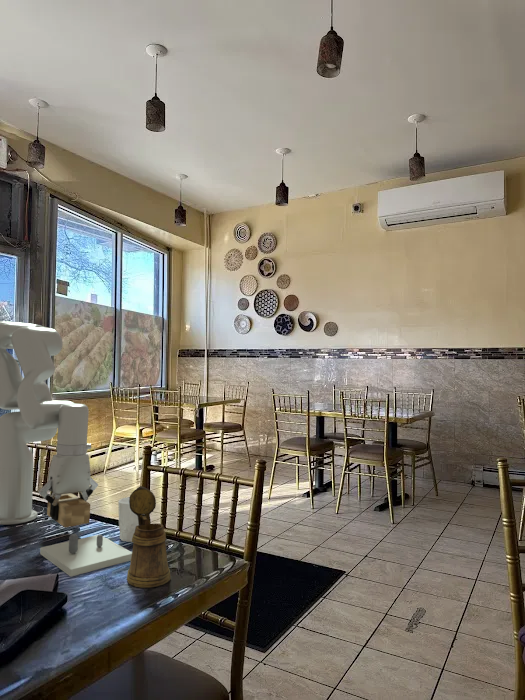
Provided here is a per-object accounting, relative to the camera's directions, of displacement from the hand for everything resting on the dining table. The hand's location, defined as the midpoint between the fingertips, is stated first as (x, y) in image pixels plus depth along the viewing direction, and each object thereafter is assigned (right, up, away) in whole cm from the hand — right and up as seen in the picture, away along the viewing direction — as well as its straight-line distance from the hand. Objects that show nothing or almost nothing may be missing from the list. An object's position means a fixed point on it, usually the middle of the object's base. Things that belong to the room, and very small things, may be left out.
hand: (67, 516), depth 135 cm
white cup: (+18, -6, -1) cm, 19 cm away
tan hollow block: (0, -1, 0) cm, 1 cm away
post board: (+10, -5, -15) cm, 19 cm away
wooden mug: (+27, -5, -26) cm, 37 cm away
